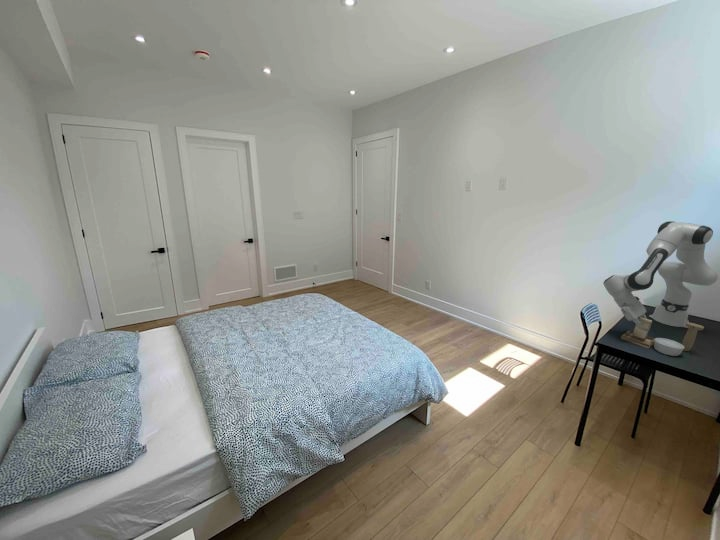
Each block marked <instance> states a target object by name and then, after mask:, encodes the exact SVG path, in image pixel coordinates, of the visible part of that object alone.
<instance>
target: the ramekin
mask: <svg viewBox="0 0 720 540" xmlns="http://www.w3.org/2000/svg"><path fill="white" fill-rule="evenodd" d="M654 341H655V342H654V344H653V348H654V350H656V351H657V352H659V353H661V354H664V355H666V356H672V357H677V356H679V355H680V354H682V352H683V351H684V348H685V347H684V346H683V345H682V343H681V342H678V341H676V340H673V339H669V338H666V337H665V338H664V337H656V338H655V339H654Z"/></svg>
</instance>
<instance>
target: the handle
mask: <svg viewBox="0 0 720 540" xmlns="http://www.w3.org/2000/svg"><path fill="white" fill-rule="evenodd" d="M686 326H687V327H689V328H687V331H686V333H685V335H684V337H683V340H682V341H681V344H682V345H683V346H684V347H685V348H684V350H683V351H685V352H690V350H691V349H692V348H693V345H694V344H695V340H696V338H697V334H698V332H699V331H703V330H704V328H705V326H704V325H701V324H697V323H694V322H686Z"/></svg>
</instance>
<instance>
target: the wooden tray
mask: <svg viewBox="0 0 720 540" xmlns="http://www.w3.org/2000/svg"><path fill="white" fill-rule="evenodd" d="M633 332H634V330H628V331H626V332H624V334H622V335H620V339H621V340H623V341H626V342H629V343H631V344H634V345H636V346H640V347H642V348H646V349H650V348H651V347H652V346H654V342H655V341H654V339H655V338H654V337H651V336H649V335H647V338H646V340H645V341H644V342H641V341H638V340H635V339H633V338H632V335H633Z"/></svg>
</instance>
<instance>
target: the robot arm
mask: <svg viewBox="0 0 720 540" xmlns="http://www.w3.org/2000/svg"><path fill="white" fill-rule="evenodd" d="M713 235H714V231H713V229H712V228H711V227H709V226H707V225H701V224H696V223H691V222H677V221H676V222H675V220H674V221H671V220H670V221H669V220H668V221H665V222H663V223H661V224H660V225H659V226H658V228H657V234H656V235H655V237H653V239H652V240H651V241H650V243H649V245H648V246H647V248H646V253H647V255H648V256H647V259H646V260H645V261H644V263H643V264H642V266H641V267H640V268H639V269H638V270H636V271H634V272H632V273H630V274H624V275H620V274H619V275H617V274H614V275H611V276H610V277H608V278H607V279H605V280H604V281H603V283H602V284H603V286H604V288H605V290H606V292H608V294H609V295H610V296H611V297H612V298H613V300H614V302H615V304H616V305H617V306H618V307H619V309H620V311H621V313H622V314H623V316H624V317H625V319H626V320H627V321H628V322H633V323H634V324H635V325H636V324H637V325H638V326H639V327H641V326H643V324H642V323H641V322H640V321H639V320H638V319H639V318H640V317H642V318H646V319H648V318H647V316H646V313H647V309H646V307H645V306H644V305H643V303H642V301H640V298H639V296H636V295H634V294H633V293H632V292H637V291H644V290H647V289H649V288H650V287H651V286H652V285H653V283H654V279H655V274H656V273H657V271H658V274H659V276H661V278H662V279H663V280H664V282H665V285H666V289H665V294H664V296H663V299H662V300H661V302H660V305H657V306H656V308H655V310H654V312H653V313H652V314H649V316H648V317H649V318H651V319H653V320H654V321H656V322H658V323H660V324H663V325H667V326H671V327H676V328H686V329H688V328H689V327H687V326H686V322H689V319H688V318H689V313H688V309H689V307H690V306H689V303H690V300H691V298H692V297H693V295H692V291H691V290H690V289H688V287H686V286H685V285H684V283H687V284H691V285H697V286H705V287H709V286H711V285H714V284H715V283H716V282H717V281H718V277H719V274H718V272H717V271H716V270H715V269H713V268H711V267H710V266H709V265H708V263H707V262H706V260H705V250H706V244H707V243H708V242H709V241H710V240H711V239H712V238H713ZM675 252H676V253H675ZM674 253H675V257H676V259H677V260H678V261H680V262H677V261H667V259H668V258H670V257H671V256H672V255H673V254H674ZM651 288H652V287H651Z"/></svg>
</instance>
